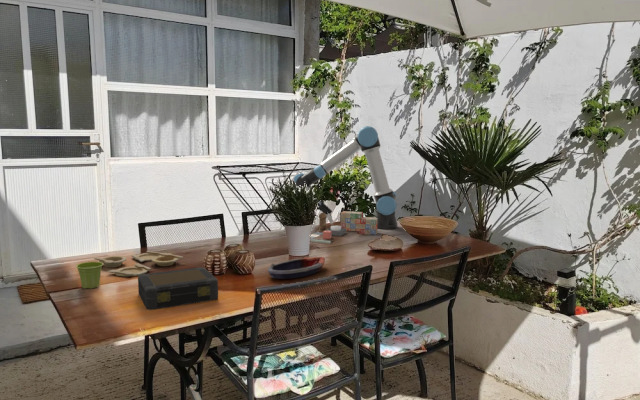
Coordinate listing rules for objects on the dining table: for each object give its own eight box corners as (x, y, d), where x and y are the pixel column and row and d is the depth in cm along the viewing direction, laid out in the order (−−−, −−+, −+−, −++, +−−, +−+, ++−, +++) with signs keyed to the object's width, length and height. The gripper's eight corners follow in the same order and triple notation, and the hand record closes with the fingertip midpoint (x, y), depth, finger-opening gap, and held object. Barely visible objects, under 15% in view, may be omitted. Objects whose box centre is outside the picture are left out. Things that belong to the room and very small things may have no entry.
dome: (342, 231, 287) (342, 225, 286) (338, 233, 281) (338, 227, 281) (332, 231, 289) (332, 225, 289) (329, 232, 284) (329, 226, 283)
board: (346, 235, 289) (346, 228, 289) (331, 243, 267) (331, 236, 267) (319, 232, 296) (319, 225, 295) (302, 240, 274) (303, 233, 273)
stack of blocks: (377, 233, 297) (378, 212, 295) (375, 235, 291) (376, 214, 289) (342, 230, 303) (343, 210, 301) (340, 232, 297) (340, 212, 295)
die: (331, 237, 276) (331, 230, 276) (330, 239, 272) (330, 231, 272) (324, 237, 277) (324, 229, 276) (322, 239, 273) (323, 231, 272)
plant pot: (96, 281, 198) (95, 260, 197) (108, 286, 192) (107, 264, 191) (73, 286, 191) (71, 265, 190) (84, 292, 185) (83, 269, 184)
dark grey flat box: (204, 284, 196) (203, 265, 195) (219, 300, 179) (219, 279, 177) (137, 294, 184) (136, 274, 183) (147, 311, 167) (146, 289, 166)
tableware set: (122, 281, 200) (122, 271, 200) (85, 268, 218) (84, 259, 217) (192, 263, 228) (192, 254, 227) (154, 253, 246) (154, 245, 245)
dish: (258, 276, 208) (258, 264, 208) (313, 263, 229) (313, 253, 228) (281, 284, 197) (281, 272, 196) (336, 270, 217) (337, 259, 216)
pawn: (328, 231, 293) (328, 212, 291) (324, 232, 288) (325, 213, 287) (320, 230, 295) (320, 211, 293) (316, 231, 290) (317, 212, 289)
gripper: (322, 198, 310) (336, 225, 300) (288, 201, 295) (303, 230, 285) (327, 190, 305) (342, 218, 295) (293, 193, 290) (308, 222, 280)
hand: (323, 224), depth 290 cm, fingers open, 13 cm apart
